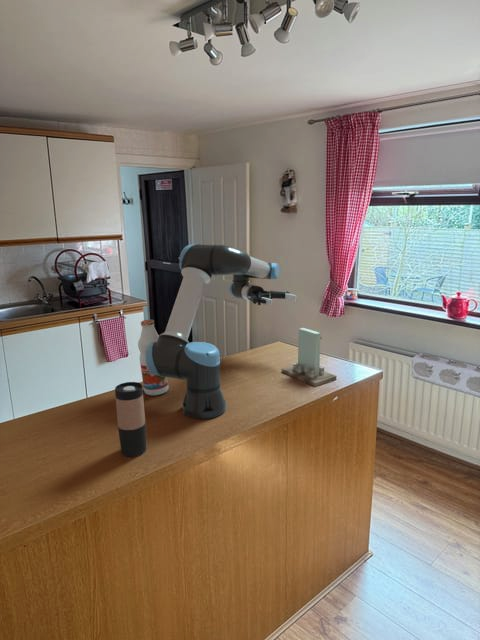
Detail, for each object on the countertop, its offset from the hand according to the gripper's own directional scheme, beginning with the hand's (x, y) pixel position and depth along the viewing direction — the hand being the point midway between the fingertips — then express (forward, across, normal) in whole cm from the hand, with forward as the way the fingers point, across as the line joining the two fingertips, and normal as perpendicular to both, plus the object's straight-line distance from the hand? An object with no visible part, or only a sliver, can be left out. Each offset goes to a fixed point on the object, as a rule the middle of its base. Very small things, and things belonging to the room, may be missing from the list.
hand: (284, 300), depth 184 cm
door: (+14, -2, -28) cm, 32 cm away
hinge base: (+14, -2, -30) cm, 33 cm away
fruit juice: (-10, +56, -30) cm, 64 cm away
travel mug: (+24, +80, -30) cm, 89 cm away
